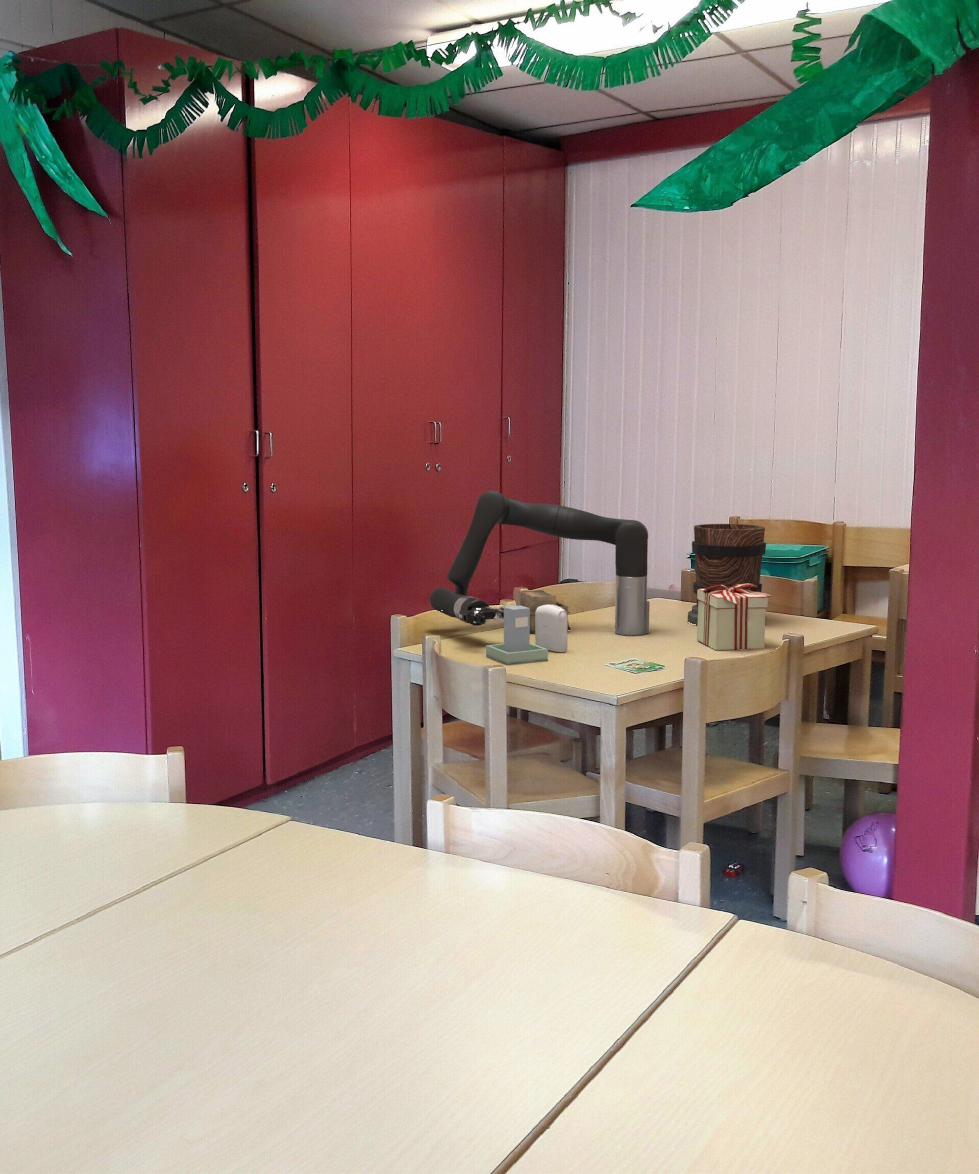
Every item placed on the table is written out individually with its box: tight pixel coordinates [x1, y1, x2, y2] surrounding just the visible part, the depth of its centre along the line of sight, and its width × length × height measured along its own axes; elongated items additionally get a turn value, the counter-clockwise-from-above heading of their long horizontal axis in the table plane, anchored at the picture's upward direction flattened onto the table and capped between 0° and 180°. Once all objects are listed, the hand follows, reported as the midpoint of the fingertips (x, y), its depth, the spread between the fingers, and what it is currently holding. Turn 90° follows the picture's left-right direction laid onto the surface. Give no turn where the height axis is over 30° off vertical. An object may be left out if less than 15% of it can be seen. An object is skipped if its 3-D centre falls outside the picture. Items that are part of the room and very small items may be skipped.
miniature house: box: [519, 589, 571, 635], centre depth 323 cm, size 15×14×11 cm
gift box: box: [696, 583, 775, 651], centre depth 299 cm, size 17×18×17 cm
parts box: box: [503, 605, 531, 653], centre depth 283 cm, size 5×5×13 cm
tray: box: [485, 642, 549, 666], centre depth 284 cm, size 12×12×3 cm
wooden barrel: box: [687, 523, 767, 625], centre depth 337 cm, size 24×30×30 cm
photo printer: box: [534, 605, 568, 653], centre depth 295 cm, size 10×4×12 cm, turn 39°
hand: (498, 619), depth 292 cm, fingers open, 8 cm apart
